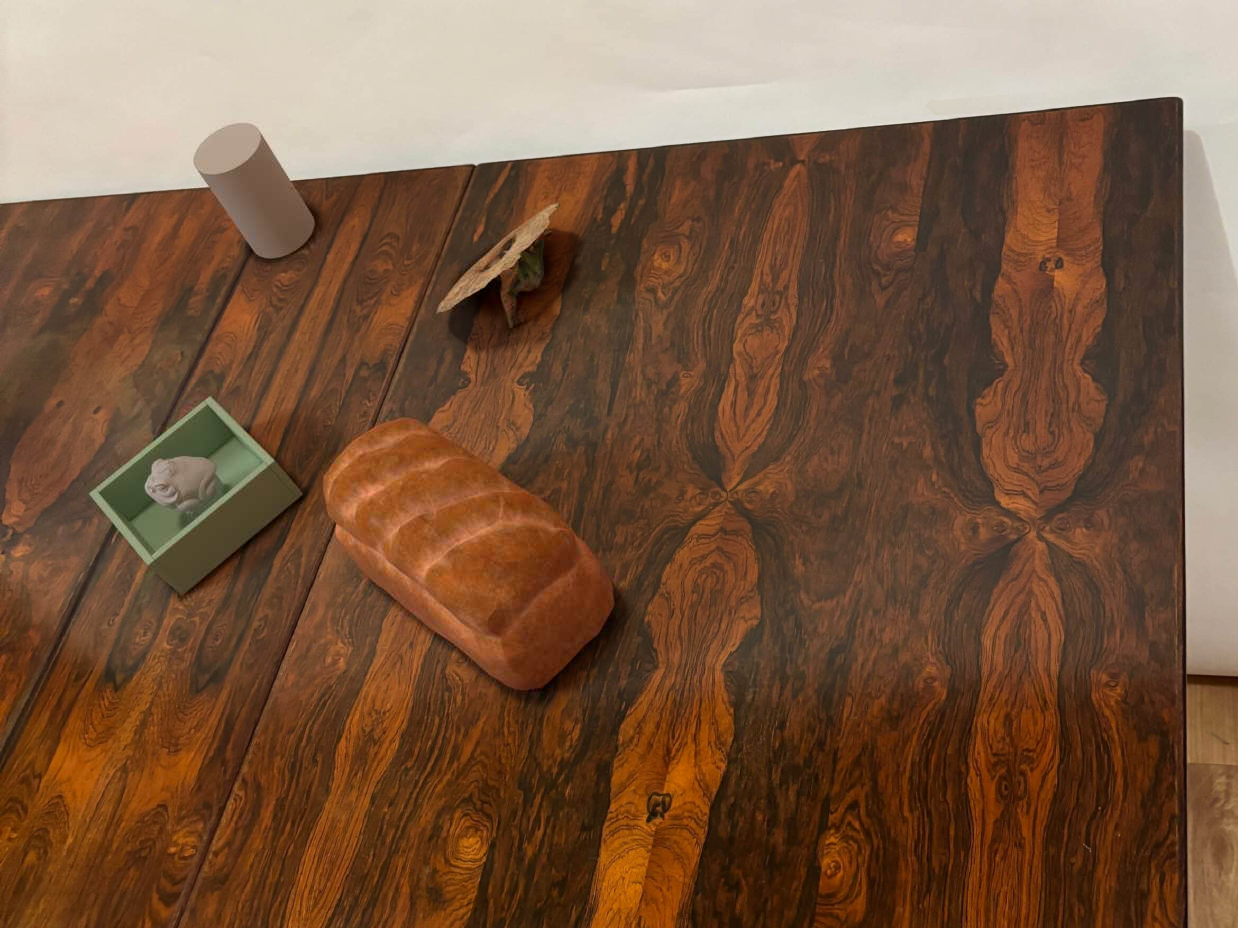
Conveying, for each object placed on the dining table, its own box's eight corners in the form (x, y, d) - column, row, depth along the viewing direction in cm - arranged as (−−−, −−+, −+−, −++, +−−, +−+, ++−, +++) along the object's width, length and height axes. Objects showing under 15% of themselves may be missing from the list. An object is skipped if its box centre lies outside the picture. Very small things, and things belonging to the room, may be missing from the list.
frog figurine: (174, 499, 122) (132, 458, 116) (234, 471, 122) (195, 428, 116) (182, 541, 119) (139, 501, 113) (244, 512, 119) (204, 471, 113)
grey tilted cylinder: (326, 213, 139) (274, 126, 129) (291, 262, 136) (234, 178, 126) (275, 205, 142) (219, 119, 132) (239, 253, 140) (180, 169, 129)
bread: (529, 713, 101) (460, 625, 87) (348, 567, 113) (264, 469, 100) (636, 599, 104) (586, 496, 90) (449, 468, 116) (380, 361, 102)
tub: (182, 595, 116) (147, 565, 111) (123, 525, 123) (88, 493, 118) (303, 494, 119) (274, 460, 114) (239, 430, 125) (209, 395, 120)
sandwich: (493, 298, 135) (459, 236, 131) (600, 256, 129) (568, 189, 125) (439, 372, 122) (399, 305, 118) (555, 329, 116) (517, 258, 112)
